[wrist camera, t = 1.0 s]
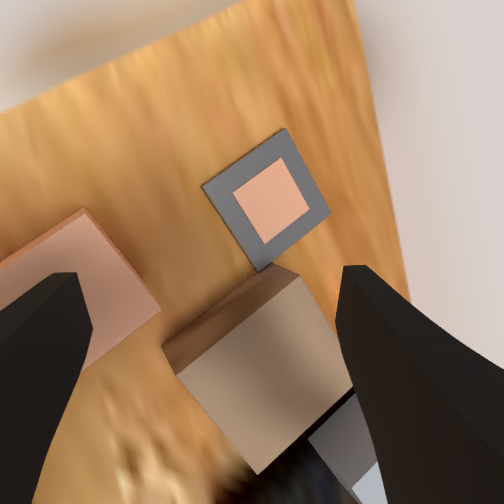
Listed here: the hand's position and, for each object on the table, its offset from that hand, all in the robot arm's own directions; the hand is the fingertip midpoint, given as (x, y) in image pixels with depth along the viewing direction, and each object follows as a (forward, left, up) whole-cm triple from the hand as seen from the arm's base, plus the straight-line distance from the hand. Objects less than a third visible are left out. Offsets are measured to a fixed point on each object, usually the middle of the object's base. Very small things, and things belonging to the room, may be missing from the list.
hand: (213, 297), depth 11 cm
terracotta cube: (-4, +1, -11) cm, 12 cm away
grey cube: (+3, -20, -11) cm, 23 cm away
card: (+7, -2, -11) cm, 13 cm away
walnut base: (+1, -9, -11) cm, 15 cm away
